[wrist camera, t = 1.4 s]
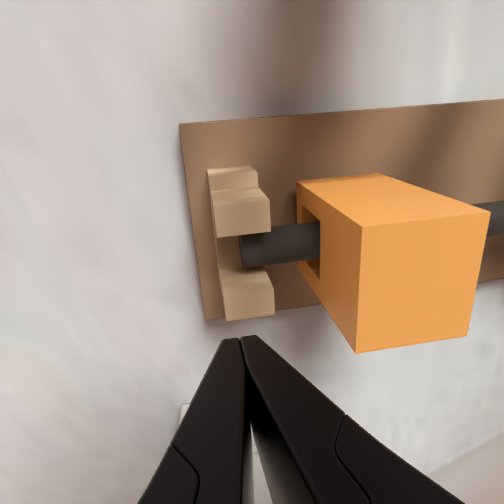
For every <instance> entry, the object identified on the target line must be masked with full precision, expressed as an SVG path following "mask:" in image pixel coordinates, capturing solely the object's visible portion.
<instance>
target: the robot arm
mask: <svg viewBox="0 0 504 504" xmlns="http://www.w3.org/2000/svg"><path fill="white" fill-rule="evenodd" d="M251 427H252V431H251ZM252 432H253V436H254V440H255V444H256V447H257V451H258V454H259V458H260V461H261V465H262V468H263V472H264V475H265V479H266V482H267V486H268V489H269V493H270V496H271V500H272V503H273V504H465V503H464V502H462V501H461V500H459V499H458V498H457V497H455V496H454V495H452V494H451V493H450V492H448V491H447V490H445V489H444V488H442V487H441V486H440V485H438V484H437V483H435V482H434V481H433V480H431V479H430V478H428V477H427V476H426V475H424V474H423V473H421V472H420V471H419V470H417V469H416V468H414V467H413V466H411V465H410V464H409V463H407V462H406V461H404V460H403V459H402V458H400V457H399V456H398V455H396V454H395V453H394V452H392V451H391V450H390V449H388V448H387V447H386V446H384V445H383V444H382V443H380V442H379V441H378V440H377V439H376V438H374V437H373V436H372V435H371V434H369V433H368V432H367V431H366V430H365V429H363V428H362V427H361V426H360V425H359V424H357V423H356V422H355V421H354V420H353V419H352V418H351V417H349V416H348V415H345V413H344V411H342V410H341V409H340V408H339V407H338V406H337V405H336V404H334V403H333V402H332V401H331V400H330V399H329V398H328V397H326V396H325V395H324V394H323V393H322V392H321V391H320V390H318V389H317V388H316V387H315V386H314V385H313V384H312V383H310V382H309V381H308V380H307V379H306V378H305V377H304V376H302V375H301V374H300V373H299V372H298V371H297V370H296V369H294V368H293V367H292V366H291V365H290V364H289V363H288V362H286V361H285V360H284V359H283V358H282V357H281V356H280V355H278V354H277V353H276V352H275V351H274V350H273V349H272V348H270V347H269V346H268V345H267V344H266V343H265V342H264V341H262V340H261V339H260V338H259V337H258V336H256V335H251V336H244V337H241V338H240V341H239V339H238V338H231V339H224V340H222V341H221V343H220V345H219V347H218V349H217V351H216V353H215V355H214V357H213V359H212V361H211V363H210V365H209V367H208V369H207V371H206V373H205V375H204V377H203V379H202V381H201V383H200V385H199V387H198V389H197V391H196V393H195V395H194V397H193V399H192V401H191V403H190V405H189V407H188V409H187V411H186V413H185V415H184V417H183V419H182V421H181V423H180V425H179V427H178V429H177V431H176V433H175V435H174V437H173V439H172V441H171V443H170V445H171V446H169V447H168V449H167V451H166V453H165V455H164V457H163V459H162V461H161V463H160V465H159V466H158V468H157V470H156V472H155V474H154V476H153V478H152V479H151V481H150V483H149V485H148V487H147V489H146V490H145V492H144V493H143V495H142V497H141V498H140V500H139V501H138V503H137V504H254V480H253V450H252Z"/></svg>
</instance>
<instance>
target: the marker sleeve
mask: <svg viewBox="0 0 504 504" xmlns="http://www.w3.org/2000/svg"><path fill="white" fill-rule="evenodd" d="M296 193H297V224H300V223H308V222H317V221H320V258H319V259H311V260H303V261H298V268H299V270H300V271H301V273H302V274H303V276H304V277H305V279H306V280H307V282H308V283H309V285H310V286H311V288H312V289H313V291H314V292H315V294H316V295H317V297H318V298H319V300H320V301H321V303H322V304H323V306H324V307H325V309H326V310H327V312H328V313H329V315H330V316H331V318H332V319H333V321H334V322H335V324H336V325H337V327H338V328H339V330H340V331H341V333H342V334H343V336H344V337H345V339H346V340H347V342H348V343H349V345H350V346H351V348H352V349H353V351H354V352H355V354H357V353H364V352H370V351H376V350H382V349H389V348H395V347H401V346H407V345H414V344H420V343H426V342H432V341H439V340H445V339H451V338H457V337H464V336H467V332H468V327H469V322H470V317H471V312H472V307H473V302H474V296H475V291H476V286H477V281H478V276H479V271H480V266H481V260H482V255H483V250H484V245H485V240H486V235H487V230H488V224H489V219H490V214H491V212H490V211H487V210H484V209H481V208H478V207H475V206H472V205H469V204H467V203H464V202H461V201H458V200H455V199H452V198H449V197H446V196H443V195H440V194H438V193H435V192H432V191H429V190H426V189H423V188H420V187H417V186H414V185H411V184H408V183H406V182H403V181H400V180H397V179H394V178H391V177H388V176H385V175H382V174H379V173H373V174H363V175H353V176H343V177H333V178H322V179H312V180H302V181H296Z"/></svg>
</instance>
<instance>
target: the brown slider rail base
mask: <svg viewBox="0 0 504 504" xmlns="http://www.w3.org/2000/svg"><path fill="white" fill-rule="evenodd" d="M179 130H180V137H181V145H182V152H183V159H184V167H185V174H186V181H187V189H188V196H189V203H190V211H191V218H192V225H193V233H194V240H195V247H196V255H197V262H198V269H199V277H200V284H201V291H202V299H203V306H204V314H205V321H206V320H213V319H220V318H226V321H233V320H240V319H247V318H254V317H262V316H269V315H275V311H277V310H284V309H291V308H298V307H305V306H312V305H319V304H322V303H321V301H320V300H319V298H318V297H317V295H316V294H315V292H314V291H313V289H312V288H311V286H310V285H309V283H308V282H307V280H306V279H305V277H304V276H303V274H302V273H301V271H300V270H299V268H298V261H303V260H311V259H319V258H320V221H317V222H308V223H300V224H297V193H296V181H302V180H312V179H322V178H333V177H343V176H353V175H363V174H373V173H379V174H382V175H385V176H388V177H391V178H394V179H397V180H400V181H403V182H406V183H408V184H411V185H414V186H417V187H420V188H423V189H426V190H429V191H432V192H435V193H438V194H440V195H443V196H446V197H449V198H452V199H455V200H458V201H461V202H464V203H467V204H469V205H472V206H475V207H478V208H481V209H484V210H487V211H490V212H491V214H490V219H489V224H488V230H487V235H486V240H485V245H484V250H483V255H482V260H481V266H480V271H479V276H478V281H477V282H482V281H489V280H496V279H504V99H497V100H484V101H471V102H458V103H444V104H431V105H418V106H405V107H392V108H379V109H366V110H353V111H340V112H326V113H313V114H300V115H287V116H274V117H261V118H248V119H235V120H222V121H208V122H195V123H182V124H179Z"/></svg>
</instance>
